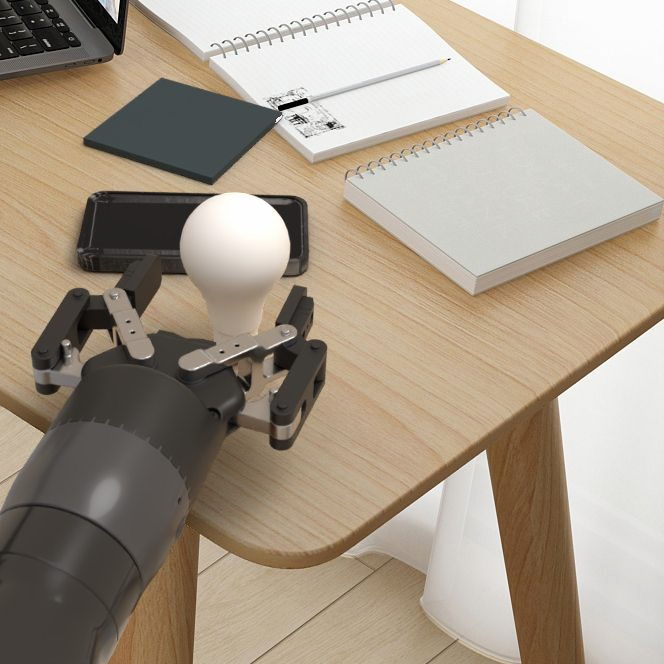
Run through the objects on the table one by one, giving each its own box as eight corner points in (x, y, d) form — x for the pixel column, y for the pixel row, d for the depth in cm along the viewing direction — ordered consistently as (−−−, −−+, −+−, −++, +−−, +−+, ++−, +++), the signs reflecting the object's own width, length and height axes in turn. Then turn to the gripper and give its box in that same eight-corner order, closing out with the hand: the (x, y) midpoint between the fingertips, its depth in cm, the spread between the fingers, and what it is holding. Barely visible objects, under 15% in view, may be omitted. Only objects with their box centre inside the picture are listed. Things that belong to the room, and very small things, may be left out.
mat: (83, 144, 89) (82, 137, 89) (161, 83, 97) (161, 77, 97) (212, 185, 86) (211, 177, 86) (282, 118, 94) (282, 111, 93)
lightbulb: (284, 322, 74) (289, 171, 67) (288, 389, 70) (293, 234, 63) (185, 322, 74) (180, 170, 67) (182, 389, 69) (176, 233, 62)
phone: (89, 190, 82) (307, 195, 83) (90, 203, 83) (306, 208, 84) (74, 257, 76) (309, 262, 77) (75, 272, 77) (308, 276, 78)
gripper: (259, 465, 51) (355, 252, 63) (-46, 393, 53) (103, 201, 65) (257, 578, 56) (346, 360, 68) (-23, 506, 58) (112, 308, 70)
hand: (227, 282), depth 67 cm, fingers open, 8 cm apart
